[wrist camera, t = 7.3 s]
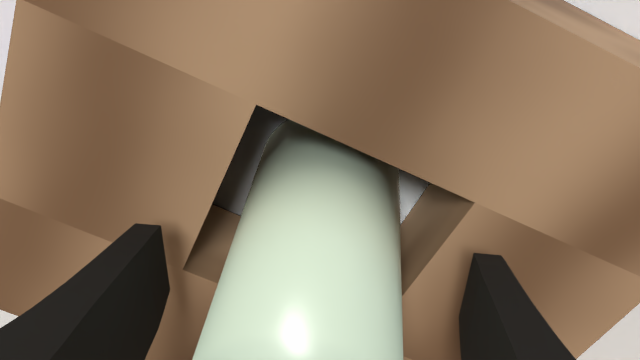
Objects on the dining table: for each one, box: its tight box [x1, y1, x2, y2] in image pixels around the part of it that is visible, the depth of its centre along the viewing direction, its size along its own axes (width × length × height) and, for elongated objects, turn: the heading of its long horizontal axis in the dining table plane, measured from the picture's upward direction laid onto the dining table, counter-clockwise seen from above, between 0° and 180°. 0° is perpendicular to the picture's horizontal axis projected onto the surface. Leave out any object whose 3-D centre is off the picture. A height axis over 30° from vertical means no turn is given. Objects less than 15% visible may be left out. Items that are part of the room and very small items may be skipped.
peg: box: [192, 119, 403, 360], centre depth 14 cm, size 4×4×8 cm
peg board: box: [0, 0, 640, 360], centre depth 16 cm, size 16×14×3 cm
